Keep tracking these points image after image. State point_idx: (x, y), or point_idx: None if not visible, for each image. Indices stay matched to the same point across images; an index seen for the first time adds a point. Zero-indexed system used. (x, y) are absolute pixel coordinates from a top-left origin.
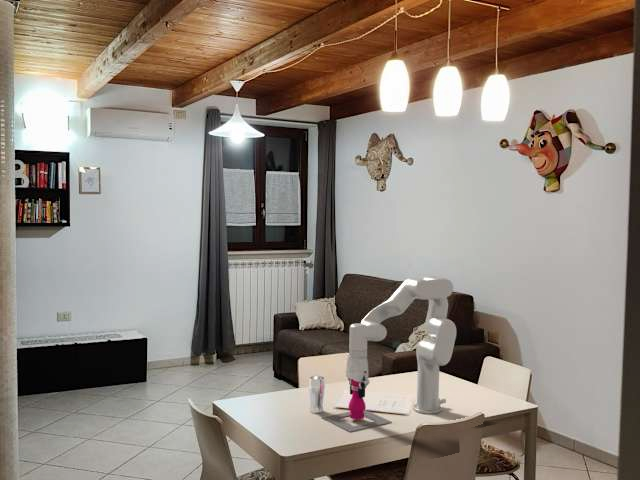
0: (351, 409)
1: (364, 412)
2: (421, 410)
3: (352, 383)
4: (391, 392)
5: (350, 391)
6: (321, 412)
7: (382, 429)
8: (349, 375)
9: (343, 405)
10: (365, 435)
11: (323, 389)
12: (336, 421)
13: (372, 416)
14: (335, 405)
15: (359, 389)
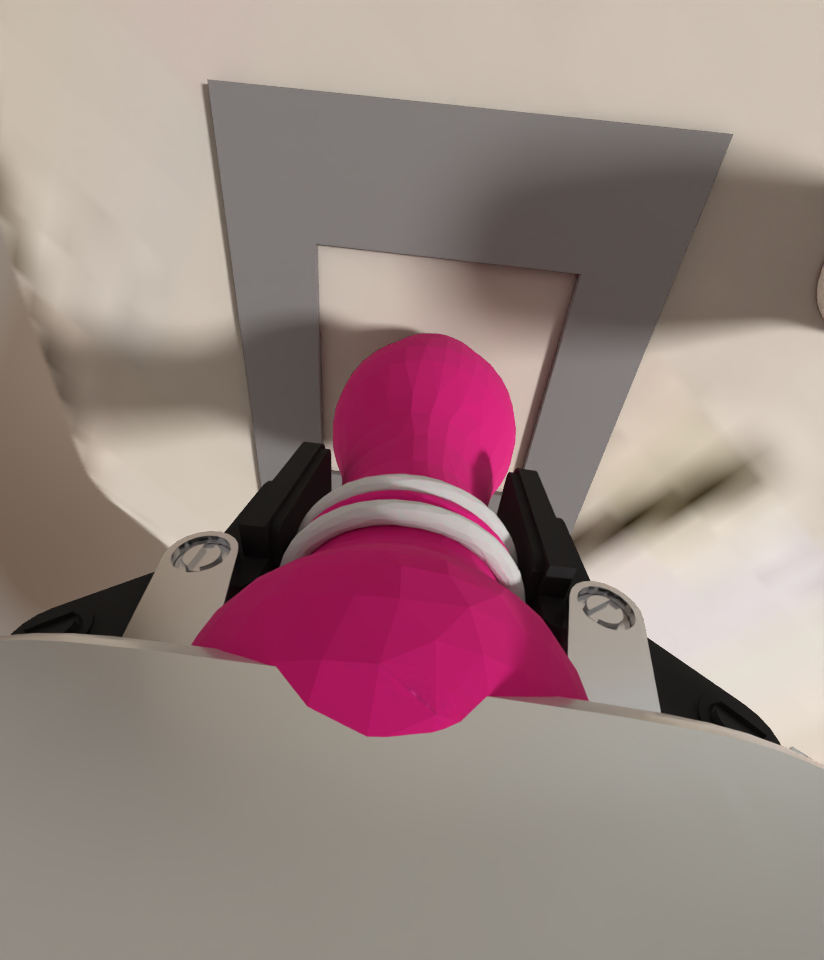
0: (414, 339)
1: None
2: None
3: (376, 554)
4: None
5: (527, 488)
6: (822, 268)
7: (186, 401)
8: (675, 924)
9: (724, 536)
10: (98, 178)
11: None
12: (515, 188)
13: None
14: (785, 499)
15: (246, 522)
